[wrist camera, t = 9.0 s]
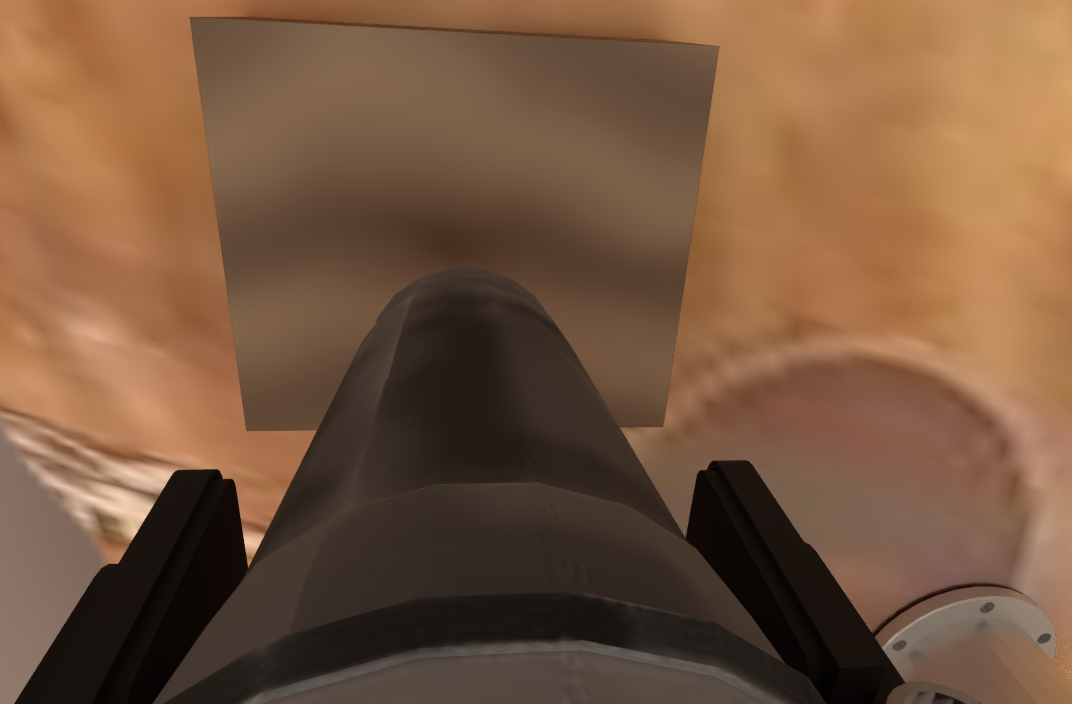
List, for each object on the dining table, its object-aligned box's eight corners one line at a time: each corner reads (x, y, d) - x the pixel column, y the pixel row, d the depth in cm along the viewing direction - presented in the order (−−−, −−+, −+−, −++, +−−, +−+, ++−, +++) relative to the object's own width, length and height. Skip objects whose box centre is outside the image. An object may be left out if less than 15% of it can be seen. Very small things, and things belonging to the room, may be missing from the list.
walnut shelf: (629, 361, 34) (663, 427, 28) (281, 360, 32) (246, 430, 27) (668, 40, 28) (719, 46, 23) (243, 16, 26) (189, 17, 21)
